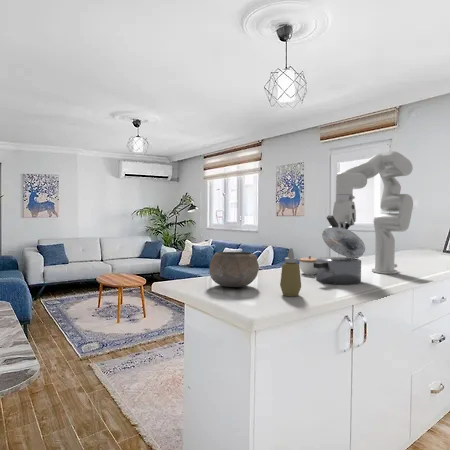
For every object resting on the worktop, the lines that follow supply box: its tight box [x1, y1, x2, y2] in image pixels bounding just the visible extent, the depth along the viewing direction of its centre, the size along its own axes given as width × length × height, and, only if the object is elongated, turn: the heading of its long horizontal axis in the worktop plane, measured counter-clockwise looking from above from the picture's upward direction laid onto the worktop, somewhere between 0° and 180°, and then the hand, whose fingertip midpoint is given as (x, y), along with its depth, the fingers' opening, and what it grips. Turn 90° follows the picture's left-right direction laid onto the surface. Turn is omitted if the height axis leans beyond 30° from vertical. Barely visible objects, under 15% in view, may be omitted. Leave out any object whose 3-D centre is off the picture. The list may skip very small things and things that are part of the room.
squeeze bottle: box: [279, 248, 302, 297], centre depth 138 cm, size 8×8×18 cm
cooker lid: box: [321, 214, 366, 259], centre depth 169 cm, size 27×21×3 cm
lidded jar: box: [298, 255, 316, 276], centre depth 187 cm, size 11×11×9 cm
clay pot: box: [208, 251, 260, 288], centre depth 153 cm, size 21×21×15 cm
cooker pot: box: [314, 256, 362, 286], centre depth 166 cm, size 26×20×10 cm
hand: (343, 237), depth 169 cm, fingers closed
